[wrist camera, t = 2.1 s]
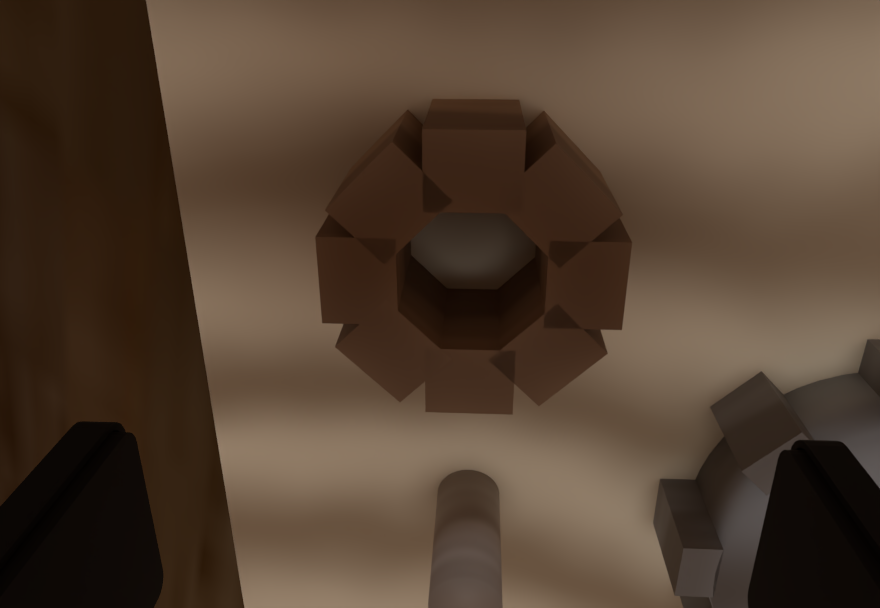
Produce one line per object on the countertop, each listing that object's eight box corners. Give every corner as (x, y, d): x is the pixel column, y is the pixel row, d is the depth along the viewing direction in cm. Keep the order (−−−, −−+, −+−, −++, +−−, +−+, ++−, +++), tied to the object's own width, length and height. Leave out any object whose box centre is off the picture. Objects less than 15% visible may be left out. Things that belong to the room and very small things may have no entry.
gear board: (160, -12, 19) (43, 2, 14) (1426, -12, 17) (1811, 3, 12) (262, 651, 29) (216, 795, 24) (1054, 687, 27) (1180, 849, 22)
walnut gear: (336, 98, 18) (306, 128, 15) (617, 100, 18) (645, 131, 15) (351, 342, 22) (329, 409, 18) (592, 348, 21) (611, 417, 18)
